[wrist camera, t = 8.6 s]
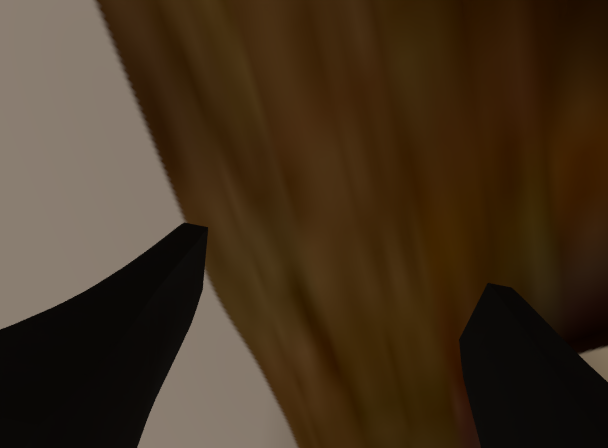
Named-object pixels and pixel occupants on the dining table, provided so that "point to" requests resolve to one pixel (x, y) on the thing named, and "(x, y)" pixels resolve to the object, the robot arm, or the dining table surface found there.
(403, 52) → the dining table surface
